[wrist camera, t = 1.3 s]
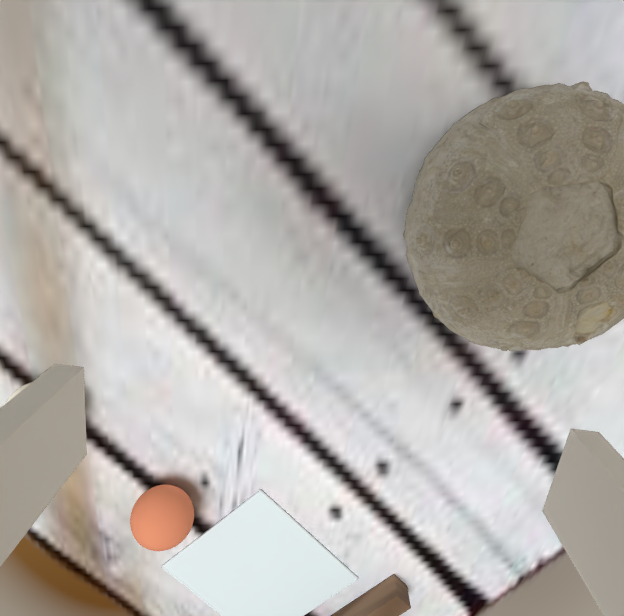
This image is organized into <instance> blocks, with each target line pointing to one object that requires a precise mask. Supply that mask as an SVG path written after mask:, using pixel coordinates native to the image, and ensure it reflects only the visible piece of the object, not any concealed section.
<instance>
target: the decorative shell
mask: <svg viewBox="0 0 624 616" xmlns="http://www.w3.org/2000/svg"><path fill="white" fill-rule="evenodd" d="M403 237H404V240H405V242H406V246H407V250H406V256H407V259H408V263H409V265H410V268H411V271H412V273H413V276H414V279H415V282H416V285H417V287H418V289H419V295H420V296H421V297H422V298H423V299H424V300H425V302H426V303H427V305H428V306H429V307H430V308H431V310H432V311H433V315H434V316H435V317H436V318H438V319H439V320H440V321H441V322H442V323H444V324H445V325H446V326H447V327H448V328H449V329H450V330H451V331H453V332H454V333H456V334H458V335H460V336H463V337H465V338H466V339H467V340H468V341H470V342H473V343H476V344H479V345H483V346H488V347H493V348H498V349H501V350H502V351H507V350H509V351H519V350H527V349H528V350H541V349H545V348H558V347H561V346H567V347H568V346H570V345H572V344H578V345H580V344H582V343H584V342H585V341H587V340H589V339H592V338H594V337H596V336H599V335H601V334H603V333H605V332H606V331H607V330H609V329H610V328H611V327H613V326H614V325H615V324H617V323H618V322H620V321H621V320H622V319H623V318H624V104H622V103H621V102H619V101H618V100H615V99H611V97H610V96H609V95H608V94H606V93H602V92H598V91H592V89H591V88H590V86H589V83H587V82H580V83H578V84H575V85H573V86H571V87H570V86H566V85H563V84H560V83H558V84H555V85H543V86H539V87H534V88H530V89H520V90H517V91H514V92H512V93H510V94H508V95H506V96H503V97H498V98H494V99H491V100H490V101H488V102H487V103H485V104H483V105H481V106H479V107H478V108H476V109H474V110H473V111H471V112H469V113H468V114H467V115H465V116H464V117H463V118H462V119H461V120H459V121H458V122H456V123H455V124H453V125H452V127H451V128H450V130H449V131H448V132H447V133H446V134H445V135H444V136H443V137H442V138H441V140H440V141H439V142H438V143H437V144H436V145H435V147H434V148H433V149H432V150H431V152H430V153H429V154H427V156H426V158H425V160H424V164H423V166H422V168H421V170H420V171H419V174H418V178H417V181H416V184H415V188H414V194H413V199H412V202H411V203H410V205H409V207H408V209H407V214H406V222H405V231H404V234H403Z"/></svg>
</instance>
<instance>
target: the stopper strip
mask: <svg viewBox="0 0 624 616" xmlns="http://www.w3.org/2000/svg"><path fill="white" fill-rule="evenodd" d="M410 608H411V606H410V601H409V595H408V590H407V586H406V585H405V584H404V583H403V582H402V581H401V580H400V579H399V578H398V577H397V576H396V575H395V574H393V575H392V576H390V577H389V578H387V579H386V580H384V581H383V582H381V583H380V584H378V585H377V586H375V587H374V588H372V589H371V590H369V591H368V592H366V593H365V594H363V595H362V596H360V597H358V598H357V599H355V600H354V601H352V602H351V603H349V604H348V605H346V606H345V607H343V608H342V609H340V610H339V611H337V612H336V613H334V614H333V615H331V616H399V615H401V614H402V613H404V612H406V611H407V610H409V609H410Z"/></svg>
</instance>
